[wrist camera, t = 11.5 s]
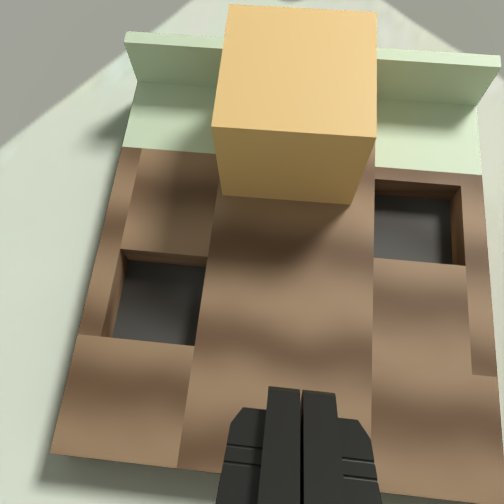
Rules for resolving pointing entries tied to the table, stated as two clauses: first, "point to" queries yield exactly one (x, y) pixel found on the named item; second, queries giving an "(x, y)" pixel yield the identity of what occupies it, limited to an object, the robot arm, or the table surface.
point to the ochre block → (295, 103)
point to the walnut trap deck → (290, 322)
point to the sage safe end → (388, 101)
